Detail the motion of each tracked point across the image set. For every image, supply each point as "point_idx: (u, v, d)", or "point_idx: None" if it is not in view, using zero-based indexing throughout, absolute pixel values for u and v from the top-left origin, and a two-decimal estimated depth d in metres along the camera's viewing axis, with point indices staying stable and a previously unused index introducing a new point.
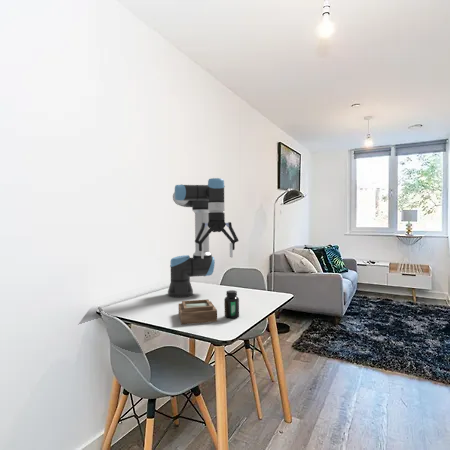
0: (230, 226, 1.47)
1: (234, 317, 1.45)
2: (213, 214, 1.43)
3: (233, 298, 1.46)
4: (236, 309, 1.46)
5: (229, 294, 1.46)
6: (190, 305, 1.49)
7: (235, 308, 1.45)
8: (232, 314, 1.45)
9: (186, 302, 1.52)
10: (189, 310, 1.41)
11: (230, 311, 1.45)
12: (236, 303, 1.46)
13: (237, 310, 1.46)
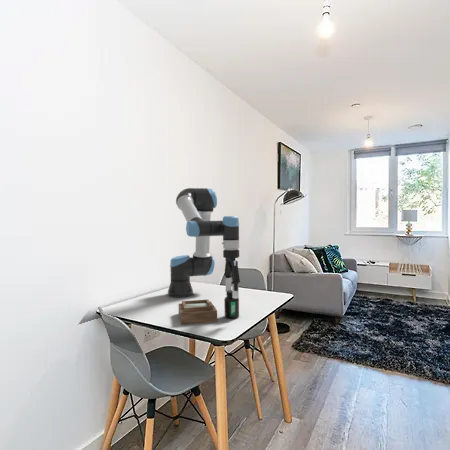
0: (232, 265, 1.41)
1: (234, 317, 1.45)
2: None
3: (233, 298, 1.46)
4: (236, 309, 1.46)
5: (229, 294, 1.46)
6: (190, 305, 1.49)
7: (235, 308, 1.45)
8: (232, 314, 1.45)
9: (186, 302, 1.52)
10: (189, 310, 1.41)
11: (230, 311, 1.45)
12: (236, 303, 1.46)
13: (237, 310, 1.46)
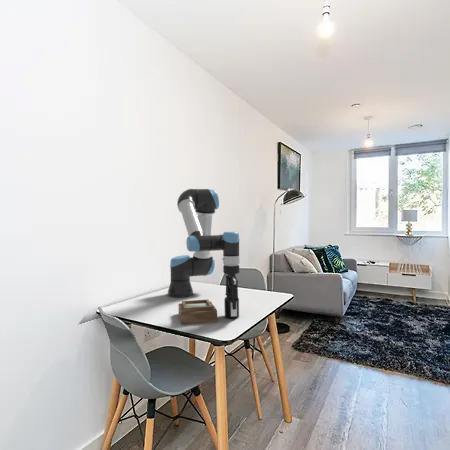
0: (232, 284, 1.42)
1: (234, 317, 1.45)
2: None
3: None
4: None
5: (229, 294, 1.46)
6: (190, 305, 1.49)
7: None
8: None
9: (186, 302, 1.52)
10: (189, 310, 1.41)
11: (230, 311, 1.45)
12: None
13: (237, 310, 1.46)
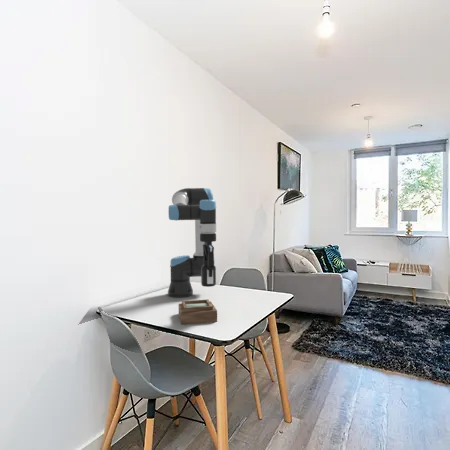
0: (208, 251, 1.42)
1: (211, 285, 1.45)
2: None
3: None
4: None
5: (206, 262, 1.46)
6: (190, 305, 1.49)
7: None
8: None
9: (186, 302, 1.52)
10: (189, 310, 1.41)
11: (206, 279, 1.45)
12: (213, 271, 1.45)
13: (214, 278, 1.46)
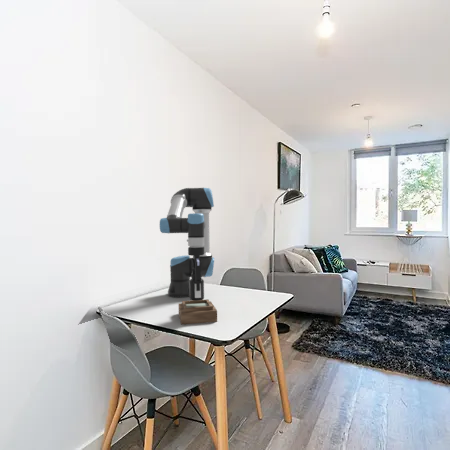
0: (195, 265, 1.41)
1: (198, 299, 1.44)
2: None
3: None
4: None
5: (193, 276, 1.45)
6: (190, 305, 1.49)
7: None
8: None
9: (186, 302, 1.52)
10: (189, 310, 1.41)
11: (194, 293, 1.44)
12: None
13: (201, 292, 1.45)
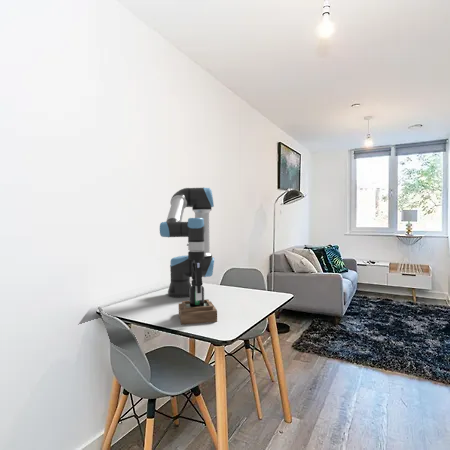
0: (195, 267, 1.41)
1: (198, 306, 1.45)
2: None
3: None
4: None
5: (193, 283, 1.45)
6: None
7: None
8: (196, 303, 1.44)
9: (186, 302, 1.52)
10: (189, 310, 1.41)
11: (194, 300, 1.45)
12: None
13: (202, 299, 1.46)
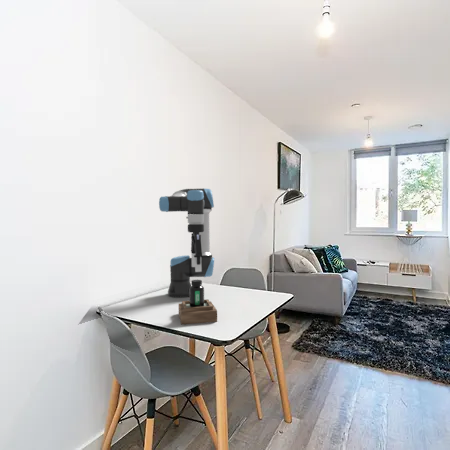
0: (195, 239, 1.41)
1: (198, 306, 1.45)
2: None
3: (197, 287, 1.45)
4: (200, 298, 1.45)
5: (193, 283, 1.46)
6: None
7: (200, 297, 1.45)
8: (196, 303, 1.44)
9: (186, 302, 1.52)
10: (189, 310, 1.41)
11: (194, 300, 1.45)
12: (200, 292, 1.45)
13: (202, 299, 1.46)
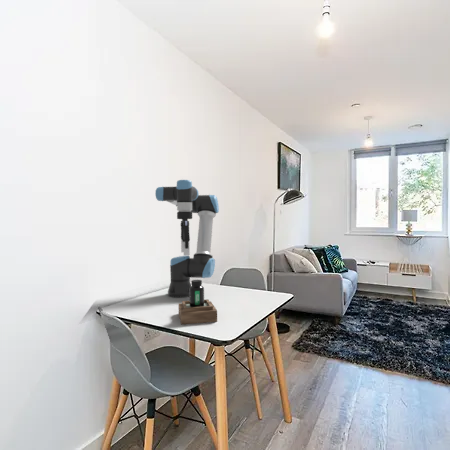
0: (183, 225, 1.51)
1: (198, 306, 1.45)
2: None
3: (197, 287, 1.45)
4: (200, 298, 1.45)
5: (193, 283, 1.46)
6: None
7: (200, 297, 1.45)
8: (196, 303, 1.44)
9: (186, 302, 1.52)
10: (189, 310, 1.41)
11: (194, 300, 1.45)
12: (200, 292, 1.45)
13: (201, 299, 1.46)
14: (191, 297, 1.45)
